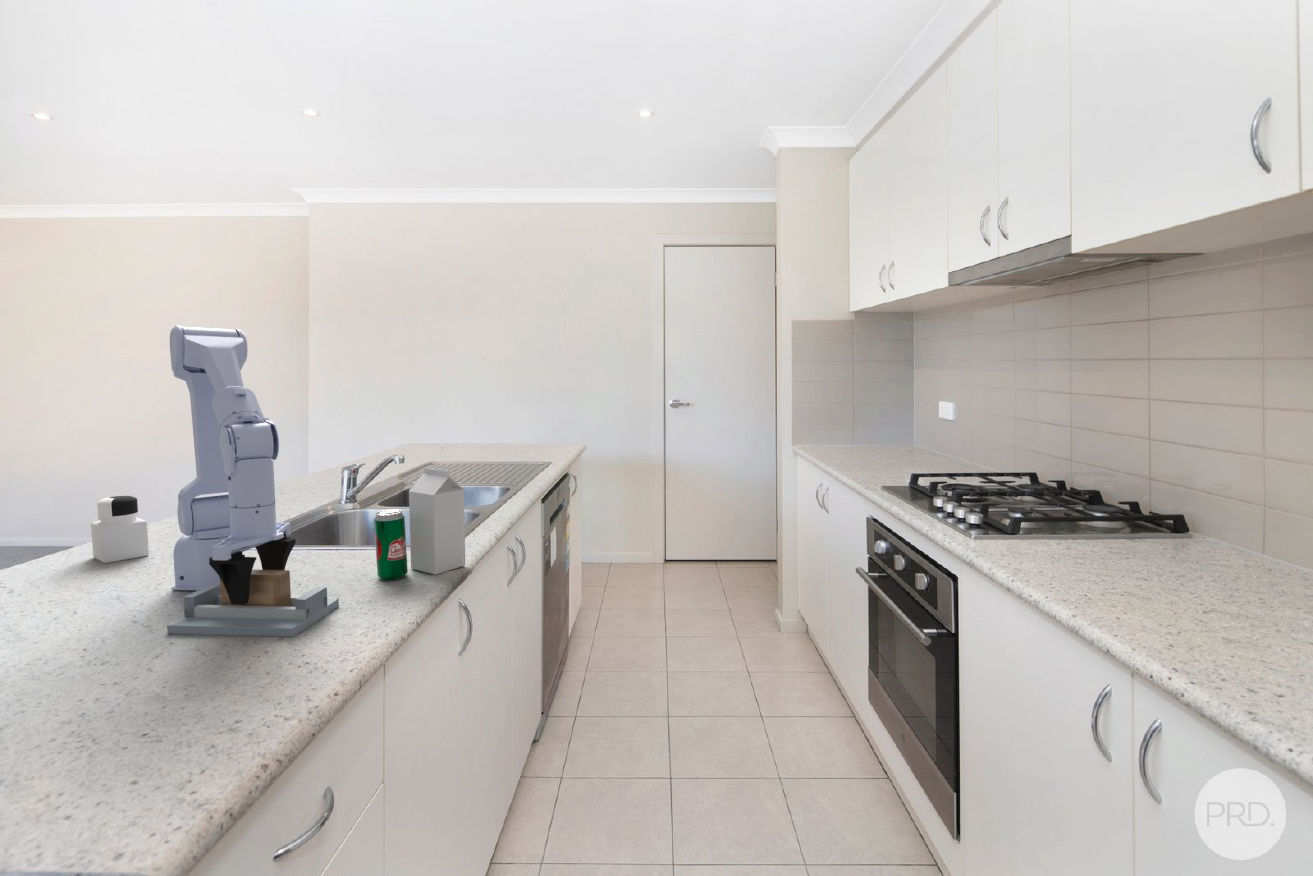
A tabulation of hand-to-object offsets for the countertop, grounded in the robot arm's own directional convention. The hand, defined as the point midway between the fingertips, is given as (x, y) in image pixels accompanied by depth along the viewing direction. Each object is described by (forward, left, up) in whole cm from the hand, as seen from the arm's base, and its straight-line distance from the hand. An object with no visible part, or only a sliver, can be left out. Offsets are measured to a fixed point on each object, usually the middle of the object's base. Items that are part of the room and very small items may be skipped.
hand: (257, 594), depth 94 cm
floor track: (0, 0, -4) cm, 4 cm away
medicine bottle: (-48, +30, -4) cm, 57 cm away
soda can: (+11, +21, -4) cm, 24 cm away
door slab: (0, 0, -3) cm, 3 cm away
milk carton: (+17, +27, -4) cm, 32 cm away
